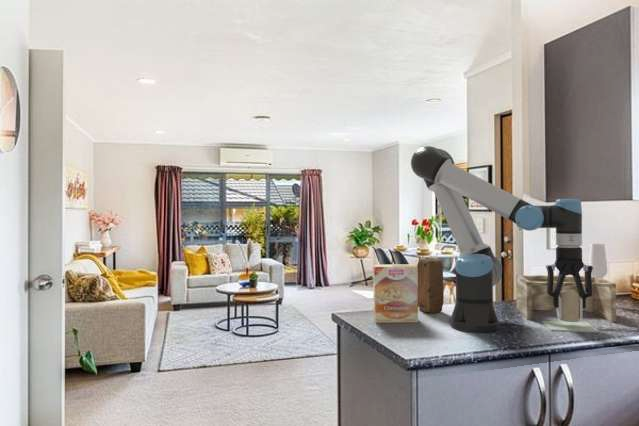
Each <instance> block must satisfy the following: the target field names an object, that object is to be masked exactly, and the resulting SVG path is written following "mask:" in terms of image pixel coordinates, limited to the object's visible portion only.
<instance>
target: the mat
mask: <svg viewBox="0 0 639 426" xmlns="http://www.w3.org/2000/svg"><path fill="white" fill-rule="evenodd" d="M541 322H542V324H543V325H544V326H545V327H546V328H547V329H548V330H549V331H552V332H572V333H573V332H576V333H577V332H578V333H579V332H580V333H598V334H599V333H600V330H599V329H597V328H596V327H595V326H593V325H591V324H590V323H589V322H587V321H586V322H584V321H578V322H567V321H562V320H560V321H558V320H557V321H555V320H541Z"/></svg>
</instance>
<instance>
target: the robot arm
mask: <svg viewBox="0 0 639 426" xmlns="http://www.w3.org/2000/svg"><path fill="white" fill-rule="evenodd" d="M410 160H411V161H410V166H411V170H412V171H413V173H414V174H415V175H416V176H417V177H419V178H421V179H423V180H424V184H425V185H426V187H427V190H429V191H430V192H433V193H434V195H435V197H436V200H437V202H438V204H439V207H440V209H441V212H442V214H443V216H444V219H445V220H446V223H447V225H448V228H449V229H450V232H451V234H452V236H453V238H454V241H455V243H456V245H457V248H458V250H459V255H458V257H457V258H456V260H455V266H454V270H455V304H454V308H453V311H452V313H451V317H450V326H451V327H452V328H453V329H456V330H459V331H464V332H471V333H490V332H496V331H497V330H498V331H499V329H500V321H499V317H498V316H497V312H496V310H495V307H494V287H495V286H496V285H497V284H498V283H499V281H500V280H501V279H502V278H501V277H502V274H503V266H502V264H501V262H500V260H499V259H498V258H497V256H495V253H493V250H492V248H491V247H490V245H488V244H486V243H484V241H483V239H482V237H481V234H480V233H479V230H478V228H477V225H476V223H475V222H474V219H473V217H472V215H471V213H470V211H469V208H468V206H467V204H466V202H465V199H464V197H466V198H468V199H469V200H472V201H473V202H475V203H477V204H479V205H481V206H482V207H484V208H486V209H487V210H490V211H492V212H493V213H495V214H497V215H499V216H501V217H503V218H504V219H507V220H509V221H510V222H512V223H514V224H515V225H516V226H517V227H518V228H520V229H522V230H525V231H534V230H537V229H555V245H556V246H557V247H555V262H554V263H553V264H547V265H545V269H546V271H547V275H548V278H547V294H548V295H550V296H553V305H554V307H555V308H557V310H556V317H557V318H558V319H560V318H562V306H561V298H560V297H559V295H560V291H561V288H562V285H563V282H564V279H565V277H566V276H573V277H574V280H575V283H576V286H577V289H578V292H579V295H580V297H579V320H583V319H584V316H583V314H584V313H583V312H584V311H583V308H585V307H586V298H587V297H591V296H592V280H591V272H592V269H593V267H592V266H590V265H589V264H585V263H584V261H583V248H582V247H581V246H583V234H582V233H583V231H582V230H583V225H582V224H583V223H582V222H583V211H582V210H583V209H582V208H583V207H582V202H581V200H580V199H578V198H567V199H565V198H564V199H563V198H562V199H561V198H560V199H556V200H555V203H554V204H551V205H533V204H532V203H529V202H528V201H526V200H525V199H524V200H523V199H521V198H519V197H518V196H516V195H514V194H512V193H510V192H507V191H506V190H504V189H502V188H500V187H499V186H496V185H494V184H492V183H490V182H488V181H486V180H484V179H482V178H481V177H478V176H477V175H475V174H472V173H471V172H469V171H468V170H465V169H463V168H462V167H459V166H457V165H456V164H455V162H454V158H453V157H452V155H451V154H450V153H449V152H448V151H446V150H444V149H441V148H437V147H435V146H431V145H426V146H421V147H420V148H418V149H416V150H415V152H414V153H413V154H412V157H411V159H410ZM463 196H464V197H463ZM555 268H556V269H557V270H558V271H559V272H558V279H557V283H556V286H555V289H554V292H553V279H554V275H555V274H554V271H556V269H555ZM582 269H583V272H584V276H585V291H584V288H583V285H582V282H581V279H580V276H581V275H580V271H582ZM585 292H586V293H585Z"/></svg>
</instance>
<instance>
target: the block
mask: <svg viewBox="0 0 639 426" xmlns="http://www.w3.org/2000/svg"><path fill="white" fill-rule="evenodd" d="M416 266H417V267H418V310H420V311H422V312H424V313H427V314H428V313H429V314H438V313H440V312H442V311H443V305H444V291H445V290H444V289H445V288H444V271H443V261H442V260H441V259H438V258H435V257H424V258H420V259H419V260H418V262H417V264H416Z"/></svg>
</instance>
